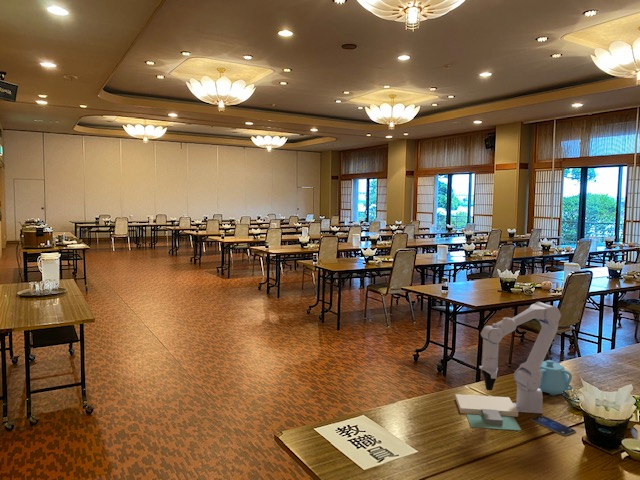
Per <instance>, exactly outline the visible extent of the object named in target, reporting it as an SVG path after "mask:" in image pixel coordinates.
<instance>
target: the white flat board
mask: <svg viewBox="0 0 640 480" xmlns="http://www.w3.org/2000/svg"><path fill="white" fill-rule="evenodd" d="M454 399H455V401H456V404H457V407H458V410H459V412H460V414H478V415H482V409H491V410H498V412H499V414H500V416H508V417H514V418H515V417H517V418H519V412H518V411H517V409H516V407H515V406H514V404H513V403H514V402H513V401H512V400H511V398H510V397H508V396H493V395H475V394H459V393H457V394H456V393H455V398H454Z"/></svg>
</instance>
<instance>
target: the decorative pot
mask: <svg viewBox="0 0 640 480" xmlns="http://www.w3.org/2000/svg"><path fill="white" fill-rule="evenodd" d="M540 371H541V373H542V377H541V384H540V387H539V388H540V389H541V391H542V393H546V394H549V395H551V396H556V395H561V394H563V393H562V392H563V391H565V392H566V391H568V390H571V391H573V386H572V385H571V384H570V383H571V382H572V379H573V375H572V373H571V372H570V371H569V370H567V369H566V368H565V367H564V366H563V365H562V364H560V363H558V362H555V361H554V360H551V359H547V360H543V362H542V365H541V367H540ZM529 372H530V371H529ZM530 373H531V372H530ZM568 392H569V391H568Z"/></svg>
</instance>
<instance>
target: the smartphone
mask: <svg viewBox="0 0 640 480" xmlns="http://www.w3.org/2000/svg"><path fill="white" fill-rule="evenodd" d="M530 422H533V423H535V424H537V425H538V426H541V427H543V428H545V429H547V428H548V430H549V431H551V432H553V433H555V434H558V435H560V436H561V437H569V436H571V435H574V434H576V433H577V431H576V429H573V428H571V427H569V426H567V425H565V424H563V423H561V422H558V421H557V420H554V419H552V418H549V417H547V416H545V415H543V414H542V415H538V416H534V417H531V418H530Z"/></svg>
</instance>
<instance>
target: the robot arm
mask: <svg viewBox="0 0 640 480" xmlns="http://www.w3.org/2000/svg"><path fill="white" fill-rule="evenodd" d="M561 317H562V313H561V312H560V309H559V308H558V307H557V306H555V305H550V304H548V303H547V304H546V303H544V302H541V301H536V302H535V303H532V304H530V306H529V307H528V308H527V309H525V310H523V311H522V312H520V313H518V314H517V315H515V316H513V317H503V318H502V320H499V321H497V322H496V323H495V322H494V323H492V325H486V326H484V327H483V328H482V330H481V332H480V336H481V338H482V342H483V343H482V344H483V345H482V346H483V347H482V365H478V366H479V367H478V368H479V369H480V370H481V373H482V375H483V378H484V380H483V381H484V385H485V390H486V391H493V389H494V386H495V383H496V380H497V379H498V378H499V374H498V371H499V366H498V363H499V347H500V346H499V343H500V342H501V341H502V339H503V338H504V337H505V336H507V335H509V334H510V333H512V332H513V333H514V332H516V329H517V326H520V325H523V324H525V323H526V322H529V321H531V320H533V319H534V320H535V319H536V320H537V321H538V322H539V324H540V327H541V328H540V330H539V332H538V335H537V337H536V340H535V342H534V344H533V346H532V348H531V351H530V353H529V355H528V357H527V359H526V361H525V362H522V363H520V364H519V367H518V368H517V369H515V371H514V373H513V379H514V381H515V383H516V399H515V401H516V402H512V403H513V404H514V406H515V407H516V409H517V411H518V413H527V414H528V413H529V414H542V415H543V401H544V400H543V399H544V397H543V395H544V394H543V392H542V391H541V389H540V388H539V387H540V384H541V377H542V373H541V371H540V367H541V365H542V362H543V361H545V358H546V355H547V354H548V351H549V350H550V347H551V346H552V343H553V340H554V339H555V336H556V334H557V332H558V329H559V321H560V320H561ZM529 371H530V372H531V373H530V372H529Z"/></svg>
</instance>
